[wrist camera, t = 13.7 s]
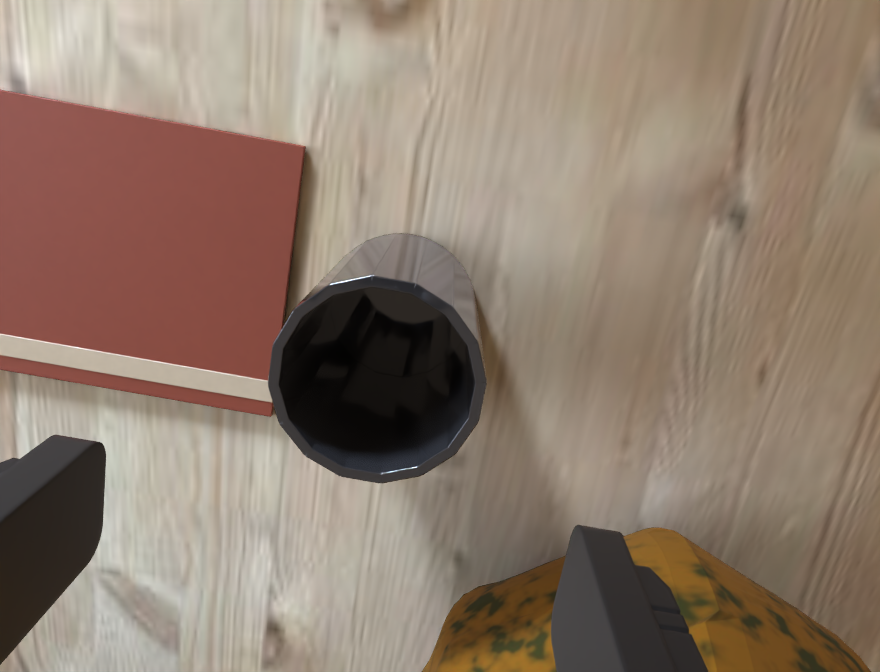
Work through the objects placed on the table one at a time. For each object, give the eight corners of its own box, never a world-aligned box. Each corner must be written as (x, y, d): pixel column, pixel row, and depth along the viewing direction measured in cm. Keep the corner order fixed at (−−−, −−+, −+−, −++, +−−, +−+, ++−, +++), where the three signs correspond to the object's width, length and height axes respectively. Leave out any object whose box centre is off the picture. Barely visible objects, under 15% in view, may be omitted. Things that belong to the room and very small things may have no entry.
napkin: (305, 146, 29) (304, 146, 29) (272, 414, 33) (270, 417, 32) (-85, 74, 29) (-91, 73, 29) (-81, 352, 32) (-86, 355, 32)
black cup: (489, 248, 30) (504, 299, 21) (460, 390, 32) (462, 498, 22) (337, 220, 30) (282, 259, 21) (317, 364, 32) (257, 462, 22)
